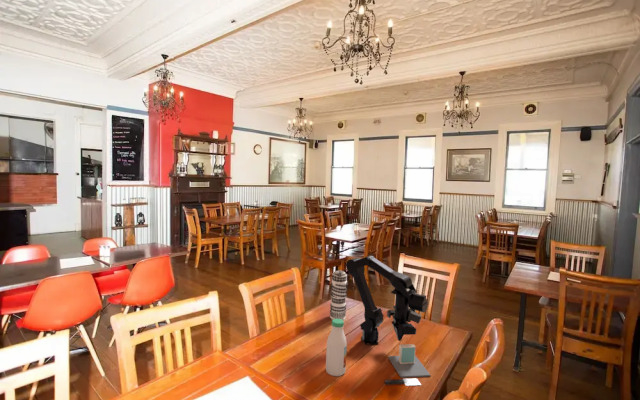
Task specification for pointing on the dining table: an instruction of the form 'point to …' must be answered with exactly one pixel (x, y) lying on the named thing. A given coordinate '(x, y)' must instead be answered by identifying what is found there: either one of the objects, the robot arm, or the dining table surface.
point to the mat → (409, 368)
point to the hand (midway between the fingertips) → (399, 340)
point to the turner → (404, 382)
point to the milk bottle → (336, 349)
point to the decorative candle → (338, 295)
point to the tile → (406, 353)
